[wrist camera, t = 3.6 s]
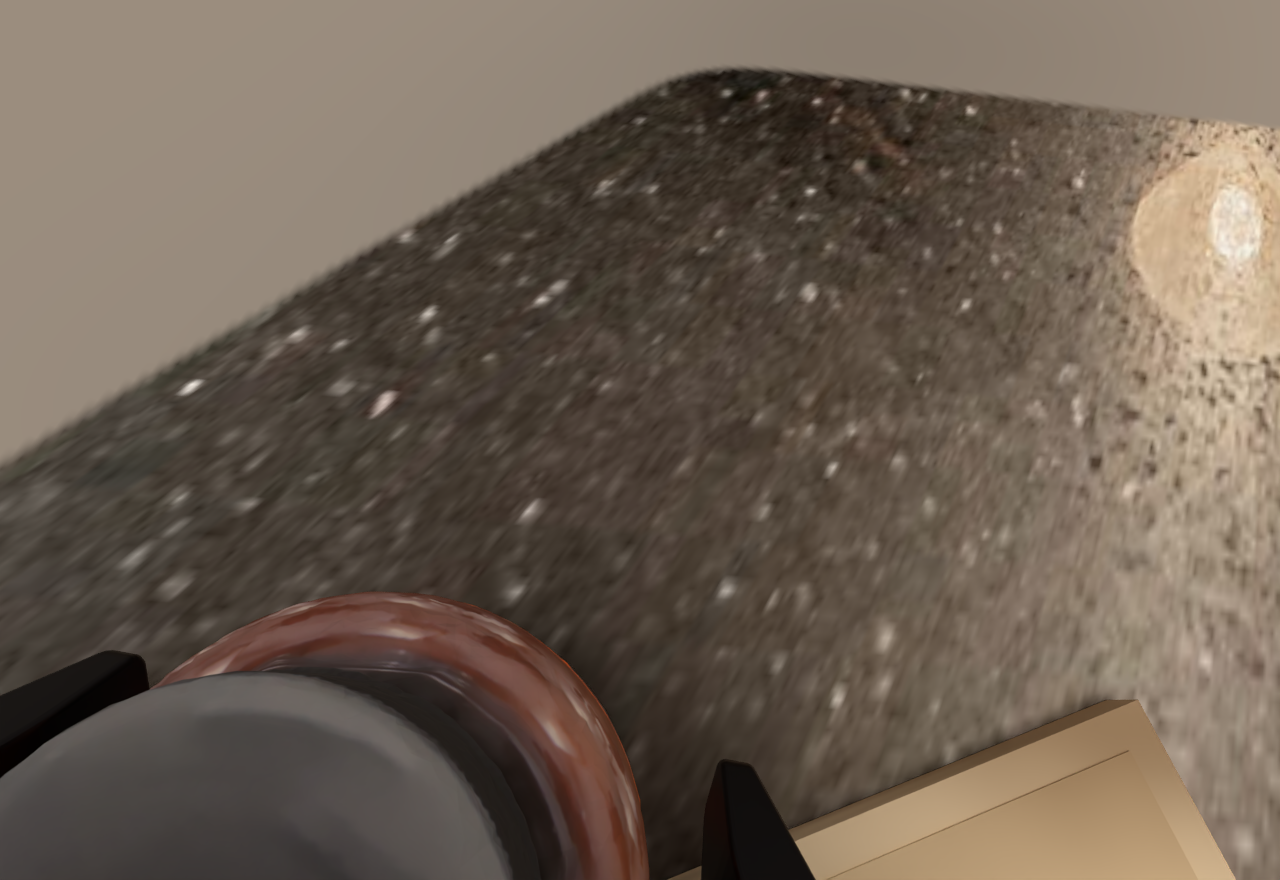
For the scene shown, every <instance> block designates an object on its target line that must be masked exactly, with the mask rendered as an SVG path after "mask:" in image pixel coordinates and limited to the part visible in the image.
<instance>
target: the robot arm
mask: <svg viewBox="0 0 1280 880" xmlns="http://www.w3.org/2000/svg"><path fill="white" fill-rule="evenodd" d="M147 690H150V688H149V682H148V675H147V669H146V664H145V661H144V659H143V658H142V657H141V656H139V655H137V654H131V653H126V652H120V651H114V650H109V651H103V652H101V653H98V654H96V655H93V656H91V657H89V658H86V659H84V660H82V661H79V662H77V663H75V664H72V665H70V666H68V667H65V668H63V669H61V670H59V671H56V672H54V673H52V674H49V675H47V676H45V677H42V678H40V679H38V680H35V681H33V682H31V683H28V684H26V685H24V686H22V687H19V688H17V689H15V690H12V691H10V692H8V693H5V694H3V695H1V696H0V778H1V777H2V776H3V775H4V774H6V773H7V772H8V771H10V770H11V769H12V768H14V767H15V766H17V765H18V764H19V763H21V762H22V761H24V760H25V759H26V758H27V757H29V756H30V755H31V754H32V753H33V752H35V751H36V750H37V749H38V748H39V747H41V746H42V745H43V744H44V743H46V742H47V741H49V740H51V739H52V738H54V737H55V736H57V735H58V734H60V733H62V732H63V731H65V730H66V729H68V728H70V727H72V726H73V725H75V724H77V723H79V722H81V721H82V720H84V719H86V718H88V717H90V716H92V715H93V714H95V713H97V712H99V711H101V710H103V709H104V708H106V707H108V706H110V705H112V704H115V703H118V702H121V701H124V700H126V699H129V698H131V697H133V696H136V695H138V694H140V693H143V692H145V691H147ZM701 880H816V879H815V877H814V875H813V874H812V872H811V870H810V868H809V866H808V865H807V863H806V861H805V859H804V857H803V856H802V854H801V852H800V850H799V848H798V847H797V845H796V843H795V841H794V839H793V838H792V836H791V834H790V832H789V830H788V829H787V827H786V825H785V823H784V821H783V820H782V818H781V816H780V814H779V812H778V811H777V809H776V807H775V805H774V803H773V802H772V800H771V798H770V796H769V794H768V792H767V791H766V789H765V787H764V785H763V783H762V782H761V780H760V778H759V776H758V774H757V773H756V771H755V769H754V768H753V767H752V766H751V765H750V764H748V763H744V762H738V761H733V760H727V759H723V760H721V761H720V762H719V763H718V765H717V768H716V771H715V775H714V778H713V782H712V785H711V789H710V792H709V795H708V799H707V803H706V808H705V814H704V828H703V849H702V869H701Z"/></svg>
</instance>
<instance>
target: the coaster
mask: <svg viewBox="0 0 1280 880" xmlns="http://www.w3.org/2000/svg"><path fill="white" fill-rule="evenodd" d="M789 832H790V834H791V836H792V838H793V839H794V841H795V843H796V845H797V847H798V848H799V850H800V852H801V854H802V856H803V857H804V859H805V861H806V863H807V865H808V866H809V868H810V870H811V872H812V874H813V875H814V877H815V879H816V880H1236V879H1235V877H1234V875H1233V874H1232V872H1231V870H1230V868H1229V866H1228V864H1227V862H1226V861H1225V859H1224V857H1223V855H1222V853H1221V851H1220V850H1219V848H1218V846H1217V844H1216V842H1215V840H1214V839H1213V837H1212V835H1211V833H1210V831H1209V829H1208V828H1207V826H1206V824H1205V822H1204V820H1203V818H1202V817H1201V815H1200V813H1199V811H1198V809H1197V807H1196V806H1195V804H1194V802H1193V800H1192V798H1191V796H1190V795H1189V793H1188V791H1187V789H1186V787H1185V785H1184V783H1183V782H1182V780H1181V778H1180V776H1179V774H1178V772H1177V771H1176V769H1175V767H1174V765H1173V763H1172V761H1171V760H1170V758H1169V756H1168V754H1167V752H1166V750H1165V749H1164V747H1163V745H1162V743H1161V741H1160V739H1159V738H1158V736H1157V734H1156V732H1155V730H1154V728H1153V727H1152V725H1151V723H1150V721H1149V719H1148V717H1147V716H1146V714H1145V712H1144V710H1143V708H1142V706H1141V704H1140V703H1139V701H1138V700H1105V701H1103V702H1100V703H1098V704H1095V705H1093V706H1090V707H1088V708H1085V709H1083V710H1081V711H1078V712H1076V713H1073V714H1071V715H1068V716H1066V717H1063V718H1061V719H1059V720H1056V721H1054V722H1051V723H1049V724H1046V725H1044V726H1041V727H1039V728H1037V729H1034V730H1032V731H1029V732H1027V733H1024V734H1022V735H1019V736H1017V737H1015V738H1012V739H1010V740H1007V741H1005V742H1002V743H1000V744H997V745H995V746H993V747H990V748H988V749H985V750H983V751H980V752H978V753H975V754H973V755H971V756H968V757H966V758H963V759H961V760H958V761H956V762H953V763H951V764H948V765H946V766H944V767H941V768H939V769H936V770H934V771H931V772H929V773H926V774H924V775H922V776H919V777H917V778H914V779H912V780H909V781H907V782H904V783H902V784H900V785H897V786H895V787H892V788H890V789H887V790H885V791H882V792H880V793H878V794H875V795H873V796H870V797H868V798H865V799H863V800H860V801H858V802H856V803H853V804H851V805H848V806H846V807H843V808H841V809H838V810H836V811H834V812H831V813H829V814H826V815H824V816H821V817H819V818H816V819H814V820H812V821H809V822H807V823H804V824H802V825H799V826H797V827H794V828H792V829H790V830H789ZM701 869H702V866H699V867H697V868H694V869H692V870H689V871H687V872H684V873H682V874H680V875H677V876H675V877H672V878H670V879H667V880H701Z"/></svg>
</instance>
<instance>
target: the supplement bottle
mask: <svg viewBox="0 0 1280 880" xmlns="http://www.w3.org/2000/svg"><path fill="white" fill-rule="evenodd" d="M0 880H650V879H649V862H648V853H647V844H646V837H645V829H644V822H643V817H642V813H641V806H640V798H639V794H638V791H637V787H636V784H635V781H634V776H633V772H632V769H631V765H630V761H629V759H628V756H627V754H626V752H625V750H624V747H623V745H622V743H621V740H620V738H619V736H618V734H617V732H616V730H615V728H614V725H613V723H612V721H611V720H610V717H609V715H608V713H607V710H606V709H605V708H604V707H603V705H602V704H601V702H600V701H599V700H598V698H597V697H596V696H595V694H594V693H593V691H592V690H591V688H590V687H589V686H588V685H587V684H586V683H585V682H584V681H583V680H582V679H581V677H580V676H579V675H578V674H577V673H576V672H575V670H574V669H573V668H572V667H571V666H569V665H568V663H567V662H566V661H564V660H563V659H562V658H561V656H559V655H558V654H556V653H555V652H553V651H552V650H551V649H550V648H549V647H547V646H546V645H545V644H543V643H542V642H541V641H539V640H538V639H536V638H535V637H534V636H532V635H531V634H530V633H528V632H527V631H526V630H524V629H522V628H521V627H519V626H517V625H515V624H514V623H512V622H510V621H508V620H506V619H504V618H502V617H500V616H498V615H496V614H494V613H492V612H490V611H487V610H485V609H482V608H479V607H477V606H474V605H470V604H466V603H462V602H458V601H454V600H451V599H447V598H443V597H438V596H434V595H426V594H418V593H400V592H363V593H355V594H347V595H340V596H333V597H327V598H320V599H317V600H314V601H309V602H303V603H299V604H296V605H293V606H290V607H287V608H285V609H283V610H280V611H278V612H275V613H272V614H270V615H267V616H264V617H262V618H260V619H257V620H255V621H253V622H251V623H249V624H247V625H246V626H244V627H241V628H239V629H237V630H235V631H234V632H232V633H230V634H227V635H225V636H224V637H222V638H221V639H220V640H219V641H217V642H215V643H214V644H212V645H210V646H208V647H207V648H205V649H204V650H203V651H201V652H199V653H197V654H196V655H194V656H192V657H191V658H190V659H188V660H187V661H185V662H184V663H183V664H181V665H180V666H178V667H177V668H176V669H175V670H173V671H172V672H170V673H168V674H167V675H166V676H165V678H164V679H163V680H162V681H161V682H160V683H158V684H157V685H155V686H153V687H152V688H151V689H150V690H147V691H145V692H143V693H140V694H138V695H136V696H133V697H131V698H129V699H126V700H124V701H121V702H118V703H115V704H112V705H110V706H108V707H106V708H104V709H103V710H101V711H99V712H97V713H95V714H93V715H92V716H90V717H88V718H86V719H84V720H82V721H81V722H79V723H77V724H75V725H73V726H72V727H70V728H68V729H66V730H65V731H63V732H62V733H60V734H58V735H57V736H55V737H54V738H52V739H51V740H49V741H47V742H46V743H44V744H43V745H42V746H41V747H39V748H38V749H37V750H36V751H35V752H33V753H32V754H31V755H30V756H29V757H27V758H26V759H25V760H24V761H22V762H21V763H19V764H18V765H17V766H15V767H14V768H12V769H11V770H10V771H8V772H7V773H6V774H4V775H3V776H2V777H1V778H0Z"/></svg>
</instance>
